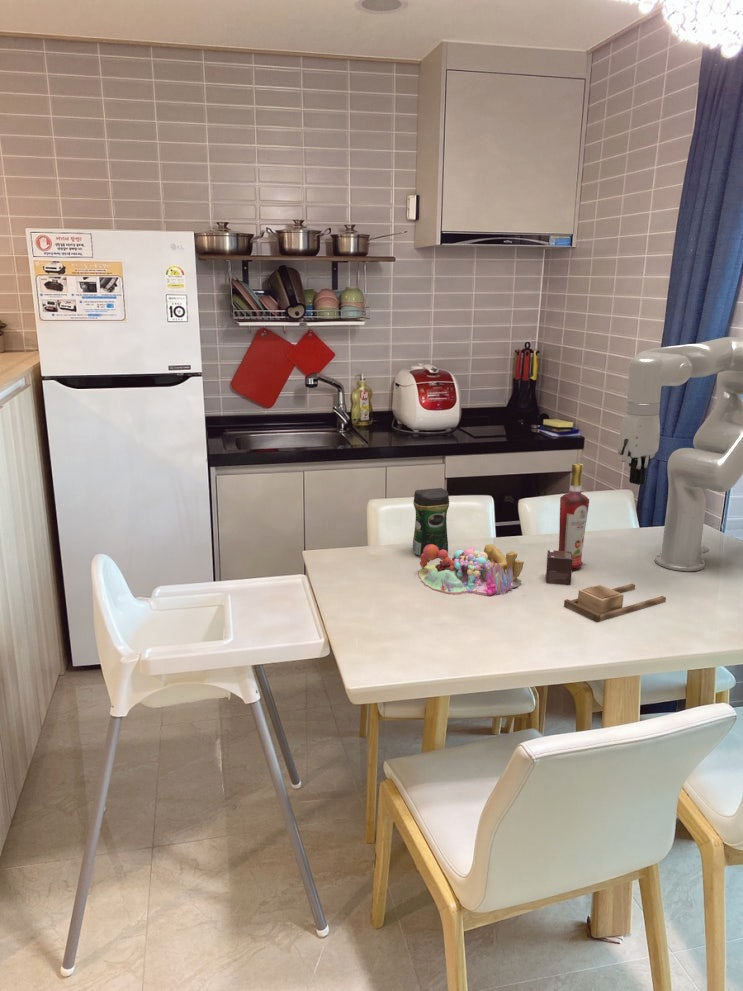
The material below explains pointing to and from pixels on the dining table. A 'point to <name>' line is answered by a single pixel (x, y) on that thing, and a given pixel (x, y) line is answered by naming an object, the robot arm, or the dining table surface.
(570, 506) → the liquor
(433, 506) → the coffee jar
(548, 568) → the box
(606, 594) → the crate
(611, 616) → the bay
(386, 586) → the dining table surface
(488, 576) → the pastel sphere sculpture
